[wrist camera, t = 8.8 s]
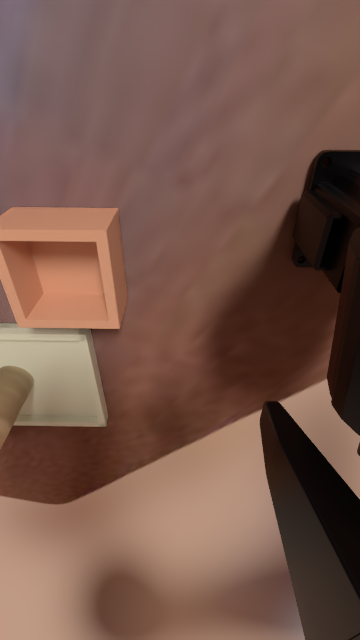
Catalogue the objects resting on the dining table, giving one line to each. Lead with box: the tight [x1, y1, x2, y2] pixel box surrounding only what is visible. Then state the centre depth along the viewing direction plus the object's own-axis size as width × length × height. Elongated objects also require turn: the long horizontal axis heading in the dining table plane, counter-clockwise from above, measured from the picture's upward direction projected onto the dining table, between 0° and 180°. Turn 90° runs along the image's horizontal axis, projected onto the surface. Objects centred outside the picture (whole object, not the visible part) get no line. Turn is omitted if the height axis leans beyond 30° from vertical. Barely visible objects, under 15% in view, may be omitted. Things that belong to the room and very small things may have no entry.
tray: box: [0, 323, 108, 427], centre depth 27 cm, size 14×11×1 cm
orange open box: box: [0, 207, 128, 329], centre depth 19 cm, size 6×6×4 cm
